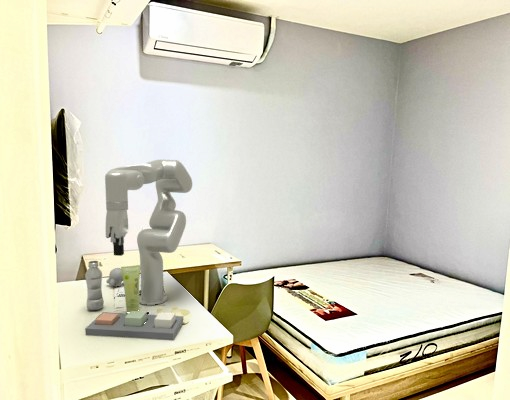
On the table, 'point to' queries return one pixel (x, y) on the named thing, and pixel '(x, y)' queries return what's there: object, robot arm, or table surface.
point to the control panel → (135, 329)
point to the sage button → (136, 318)
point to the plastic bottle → (94, 286)
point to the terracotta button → (107, 319)
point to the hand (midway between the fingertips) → (118, 254)
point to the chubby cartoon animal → (115, 277)
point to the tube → (131, 286)
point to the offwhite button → (164, 320)
